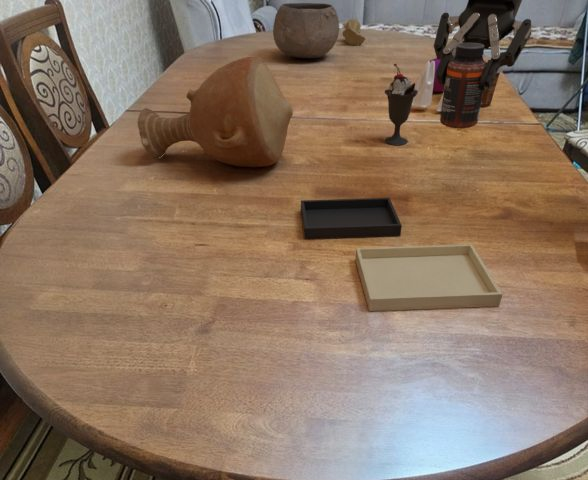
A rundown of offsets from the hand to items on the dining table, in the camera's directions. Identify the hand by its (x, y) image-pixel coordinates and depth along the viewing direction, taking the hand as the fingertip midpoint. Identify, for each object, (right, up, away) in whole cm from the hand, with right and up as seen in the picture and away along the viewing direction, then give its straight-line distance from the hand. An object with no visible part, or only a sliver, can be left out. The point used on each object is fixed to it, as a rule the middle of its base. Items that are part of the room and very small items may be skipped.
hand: (461, 84), depth 83 cm
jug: (-40, -2, +28) cm, 49 cm away
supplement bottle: (+1, -4, +5) cm, 7 cm away
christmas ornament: (+13, +29, +64) cm, 72 cm away
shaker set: (+9, +18, +51) cm, 55 cm away
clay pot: (-21, +55, +95) cm, 112 cm away
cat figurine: (-4, +69, +112) cm, 131 cm away
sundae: (-3, +5, +35) cm, 36 cm away
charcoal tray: (-16, -20, +6) cm, 26 cm away
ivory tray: (-7, -31, -7) cm, 33 cm away
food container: (+18, +22, +55) cm, 62 cm away
